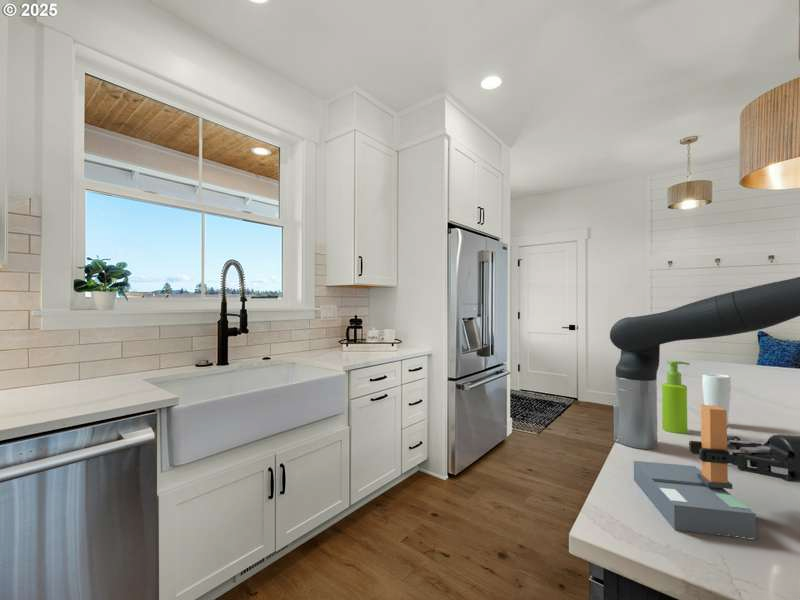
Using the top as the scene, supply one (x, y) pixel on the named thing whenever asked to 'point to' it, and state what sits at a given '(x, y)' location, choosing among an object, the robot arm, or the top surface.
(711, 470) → the handle
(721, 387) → the drinking glass
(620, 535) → the top surface
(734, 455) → the robot arm
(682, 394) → the soap dispenser
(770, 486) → the top surface
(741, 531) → the switch box
